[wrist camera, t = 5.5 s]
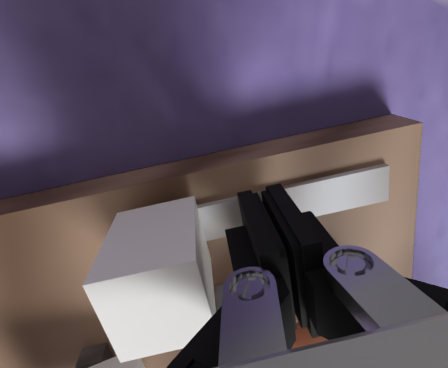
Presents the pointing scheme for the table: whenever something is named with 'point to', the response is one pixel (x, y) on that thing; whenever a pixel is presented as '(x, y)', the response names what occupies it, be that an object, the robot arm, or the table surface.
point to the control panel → (211, 222)
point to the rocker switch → (119, 364)
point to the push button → (305, 337)
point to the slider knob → (153, 279)
